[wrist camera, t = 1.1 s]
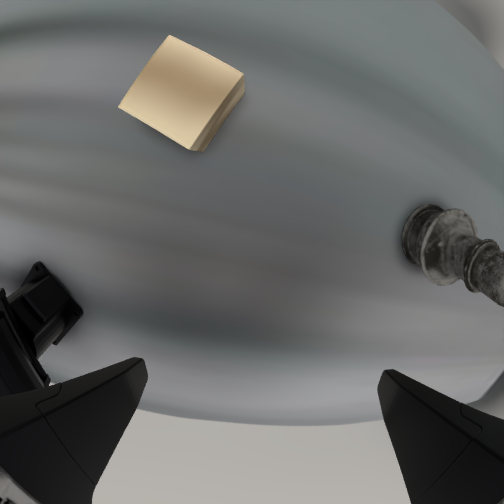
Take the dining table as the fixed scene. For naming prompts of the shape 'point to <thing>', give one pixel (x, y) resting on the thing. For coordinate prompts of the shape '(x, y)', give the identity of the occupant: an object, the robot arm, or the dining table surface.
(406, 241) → the grey tall rounded piece
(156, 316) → the dining table surface
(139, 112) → the maple block
